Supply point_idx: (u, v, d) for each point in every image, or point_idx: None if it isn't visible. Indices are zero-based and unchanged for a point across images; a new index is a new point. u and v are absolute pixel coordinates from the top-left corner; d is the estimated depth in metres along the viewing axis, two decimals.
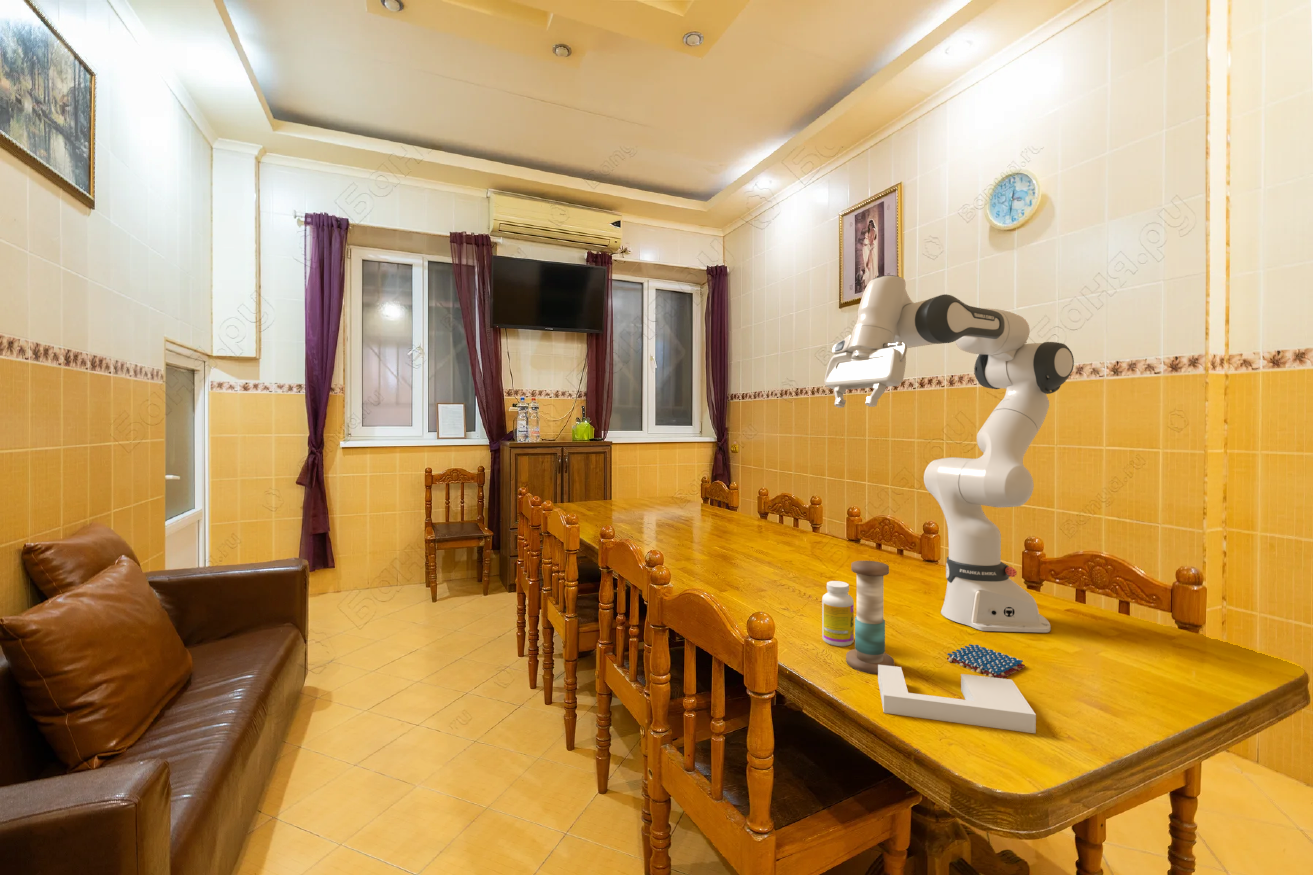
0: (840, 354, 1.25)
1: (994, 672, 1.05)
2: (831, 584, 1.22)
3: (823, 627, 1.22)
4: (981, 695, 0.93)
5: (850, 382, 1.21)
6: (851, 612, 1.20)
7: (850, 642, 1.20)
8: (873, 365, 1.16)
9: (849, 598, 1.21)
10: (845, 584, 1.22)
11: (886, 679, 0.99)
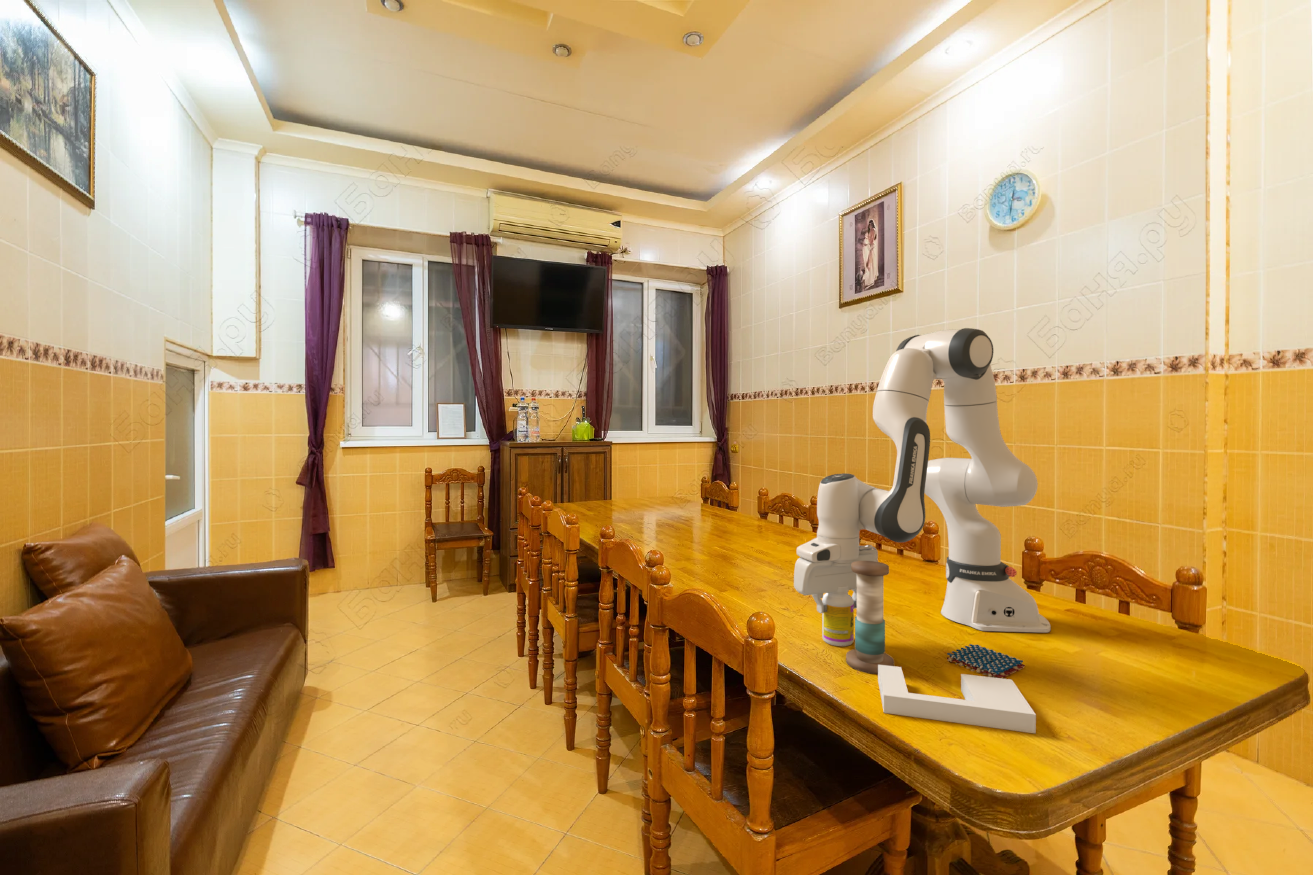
0: (823, 563, 1.18)
1: (993, 672, 1.05)
2: None
3: (823, 627, 1.22)
4: (981, 695, 0.93)
5: None
6: (851, 612, 1.20)
7: (850, 642, 1.20)
8: None
9: (849, 598, 1.21)
10: None
11: (886, 679, 0.99)
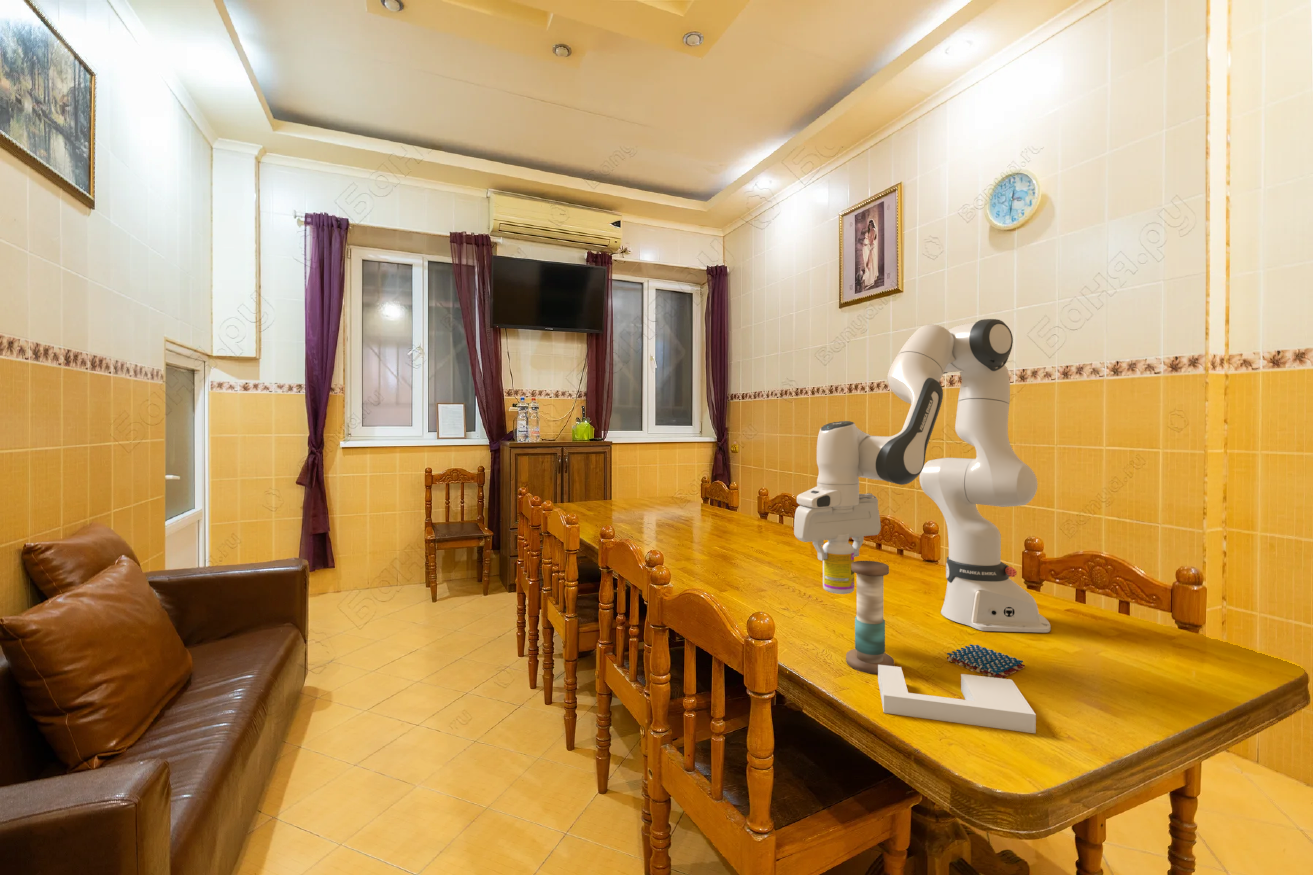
0: (823, 509, 1.18)
1: (993, 672, 1.05)
2: None
3: (824, 575, 1.22)
4: (981, 695, 0.93)
5: None
6: (852, 560, 1.20)
7: (851, 590, 1.20)
8: (860, 520, 1.22)
9: (850, 546, 1.20)
10: None
11: (886, 679, 0.99)
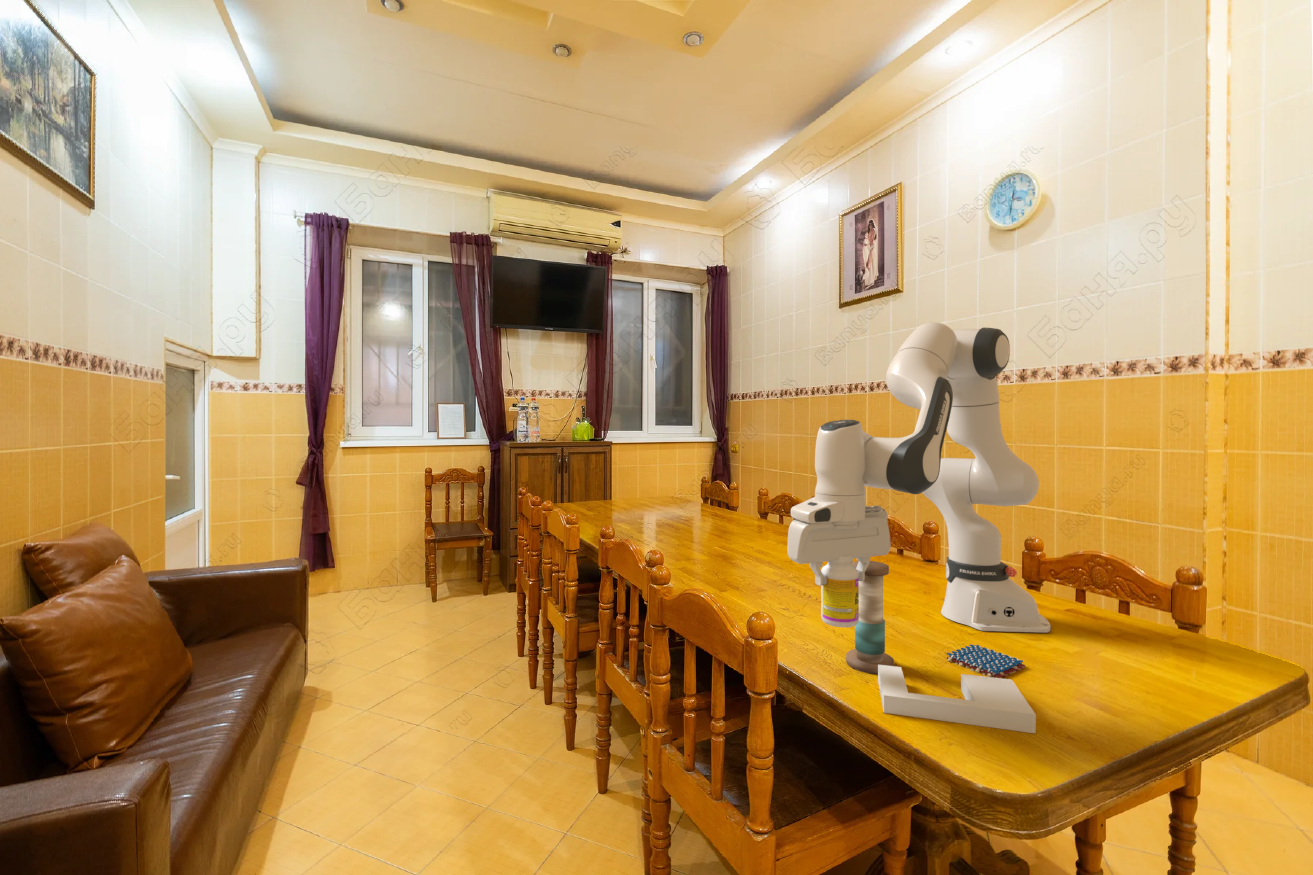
0: (823, 525, 0.98)
1: (993, 671, 1.05)
2: None
3: (822, 605, 1.03)
4: (981, 695, 0.93)
5: None
6: (856, 587, 1.00)
7: (854, 623, 1.00)
8: (866, 537, 1.02)
9: (853, 570, 1.01)
10: None
11: (886, 679, 0.99)
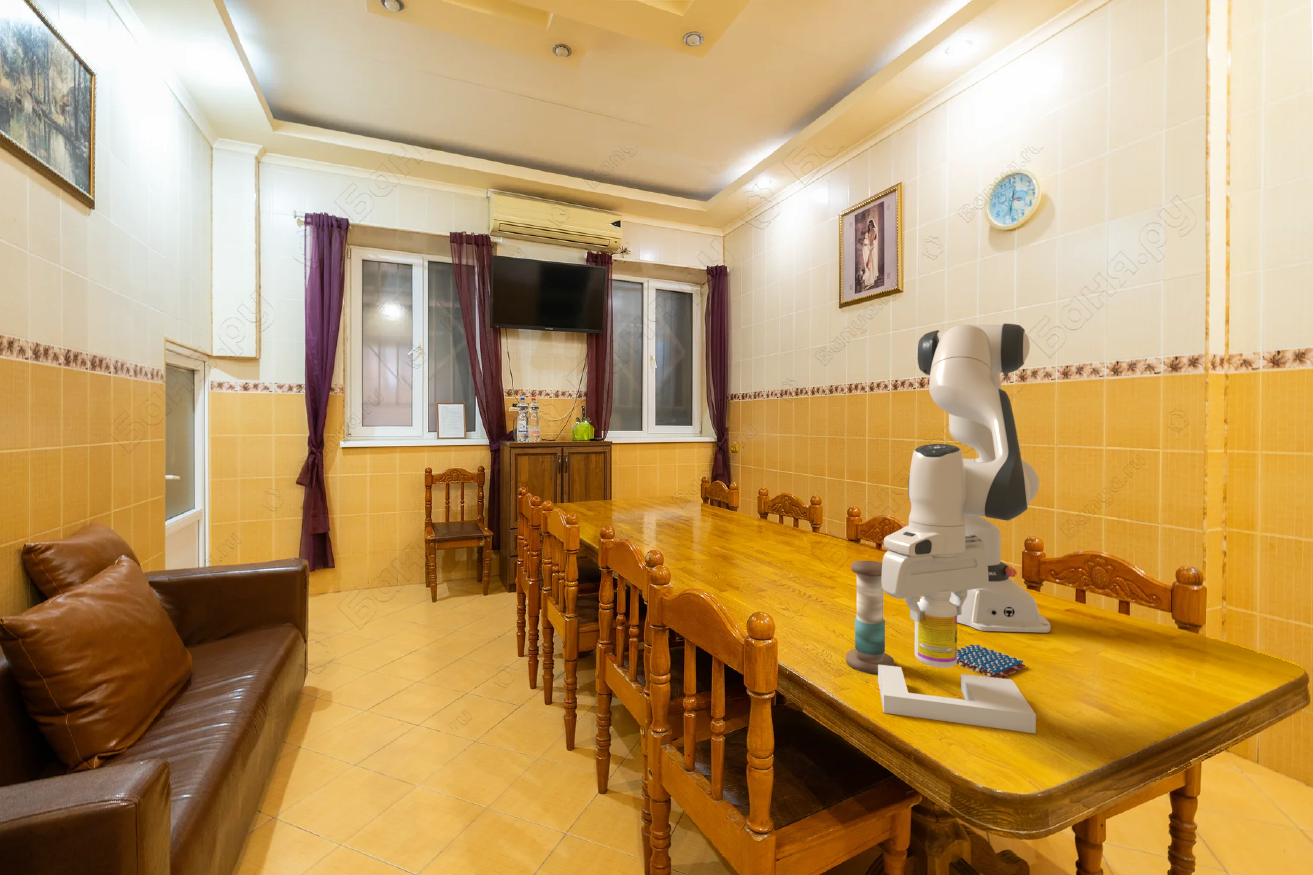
0: (923, 557, 0.92)
1: (992, 671, 1.05)
2: None
3: (917, 642, 0.96)
4: (981, 695, 0.93)
5: None
6: (955, 624, 0.94)
7: (954, 662, 0.94)
8: (965, 570, 0.96)
9: (952, 606, 0.95)
10: None
11: (886, 679, 0.99)
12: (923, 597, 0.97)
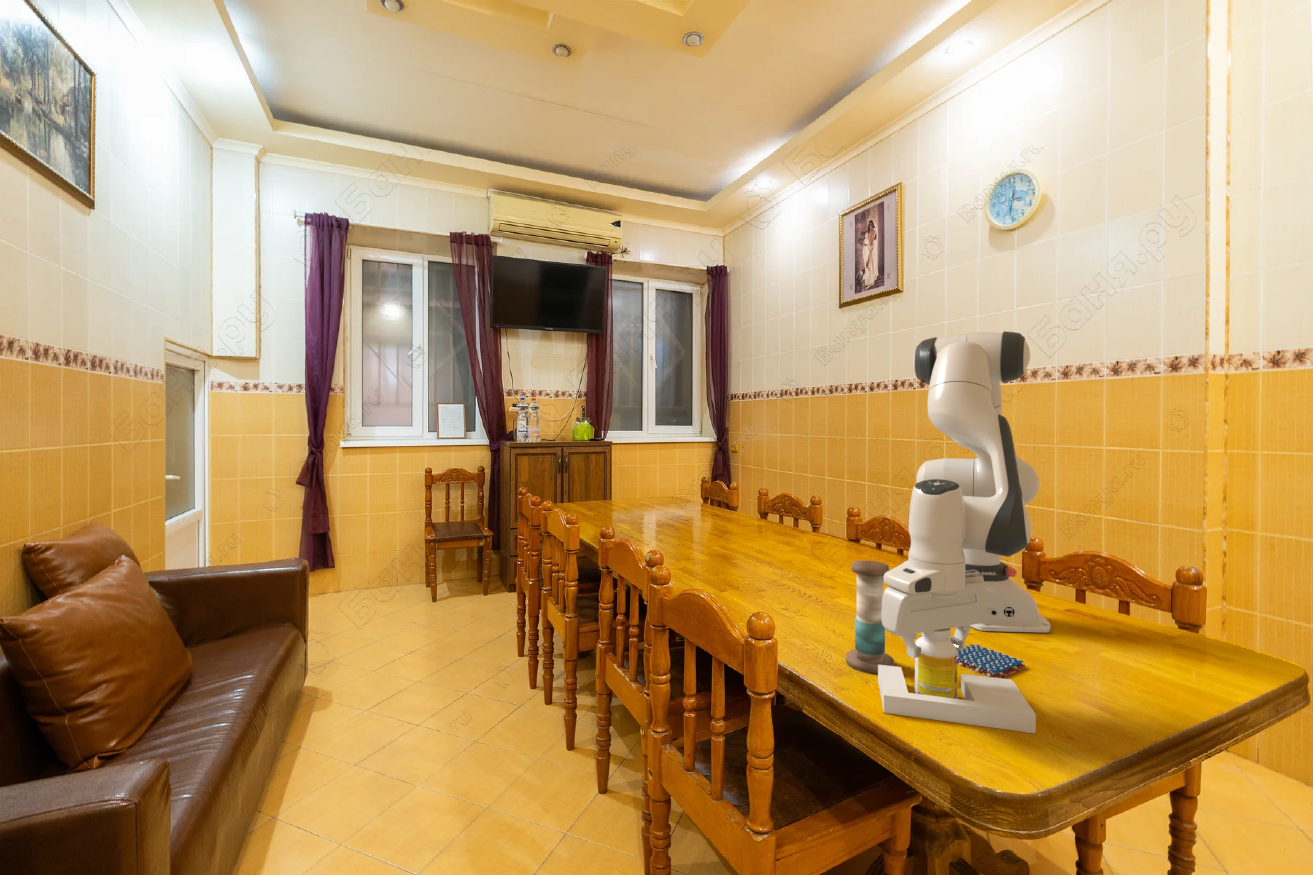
0: (922, 595, 0.92)
1: (992, 671, 1.05)
2: None
3: (917, 681, 0.97)
4: (981, 695, 0.93)
5: (938, 628, 0.95)
6: (955, 664, 0.95)
7: None
8: (964, 605, 0.96)
9: (952, 646, 0.95)
10: None
11: (886, 679, 0.99)
12: (923, 636, 0.97)
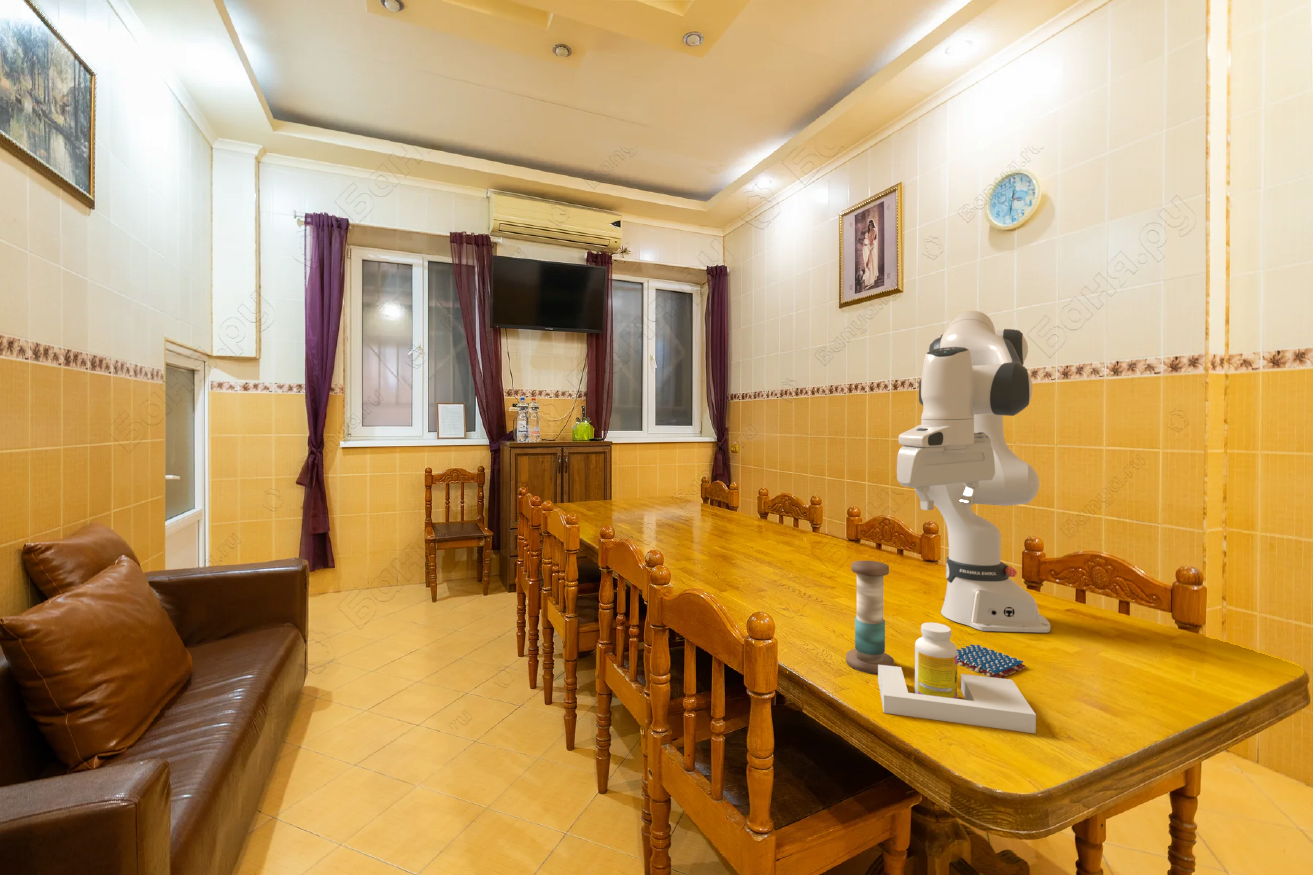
0: (935, 449, 1.00)
1: (992, 671, 1.05)
2: (928, 628, 0.97)
3: (917, 681, 0.97)
4: (981, 695, 0.93)
5: (949, 482, 1.03)
6: (955, 664, 0.95)
7: None
8: (973, 462, 1.04)
9: (952, 646, 0.95)
10: (946, 628, 0.96)
11: (886, 679, 0.99)
12: (923, 636, 0.97)
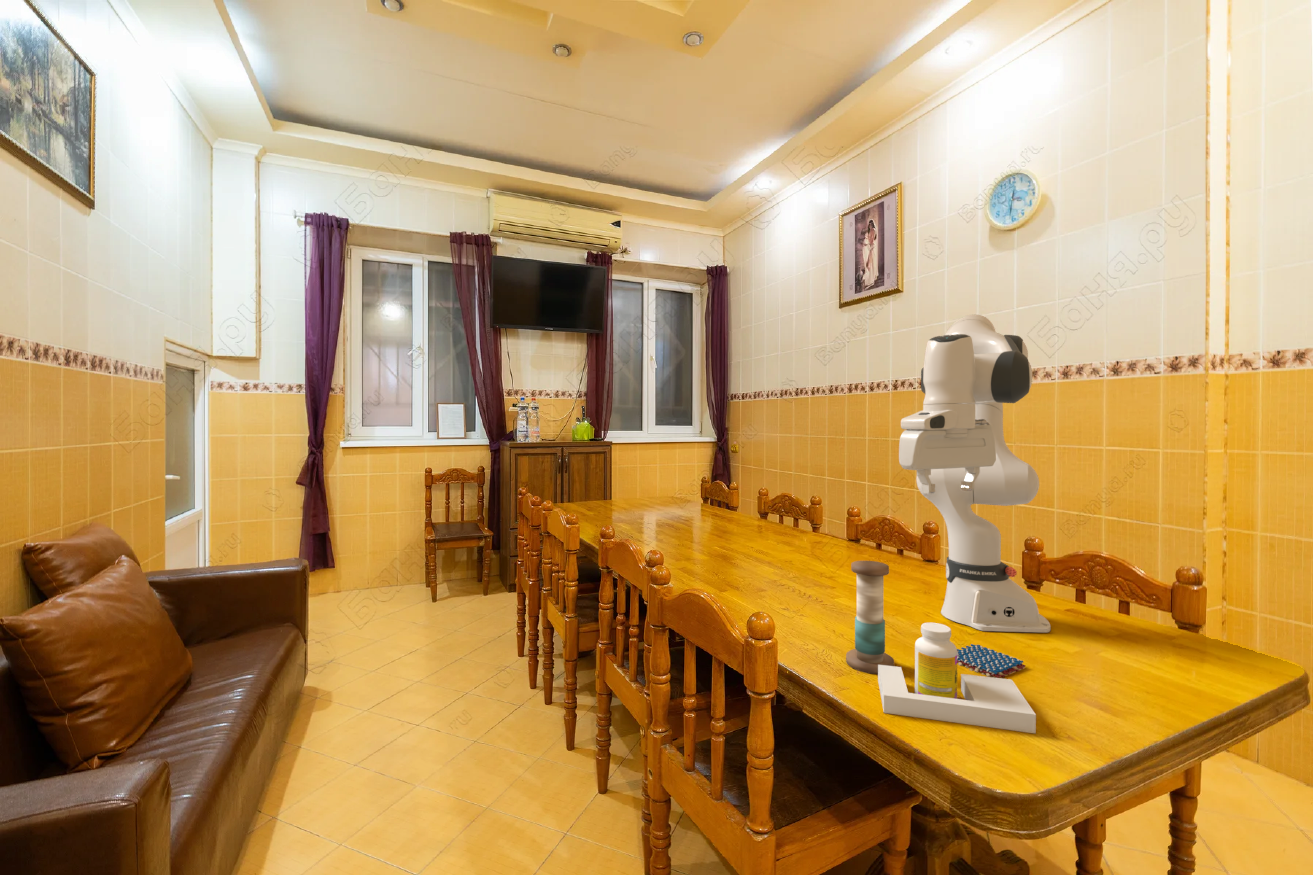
0: (937, 432, 1.01)
1: (991, 671, 1.05)
2: (928, 628, 0.96)
3: (917, 681, 0.97)
4: (981, 695, 0.93)
5: (951, 467, 1.04)
6: (955, 664, 0.95)
7: None
8: (974, 448, 1.05)
9: (952, 646, 0.95)
10: (946, 628, 0.96)
11: (886, 679, 0.99)
12: (923, 636, 0.97)
